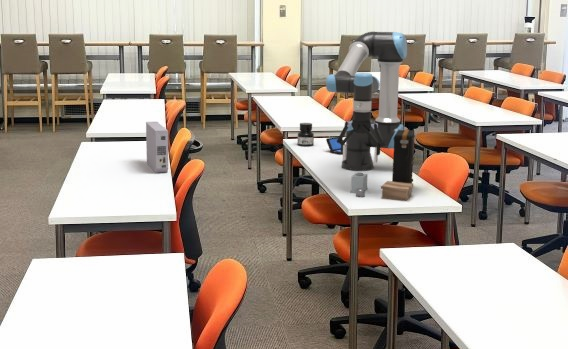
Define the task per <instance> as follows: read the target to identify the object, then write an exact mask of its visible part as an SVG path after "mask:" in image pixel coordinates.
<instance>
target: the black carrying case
mask: <svg viewBox="0 0 568 349" xmlns="http://www.w3.org/2000/svg"><path fill="white" fill-rule="evenodd" d="M415 133H416V132H415V130H414V129H407V128H405V129H404V130H398V131H397V133H396V135H395V136H394V149H393V158H392V160H393V161H392V178H391V180H392V181H393V182H403V183H413V182H414V178H413V169H414V167H413V166H414V160H415V157H414V152H415V138H416V135H415Z"/></svg>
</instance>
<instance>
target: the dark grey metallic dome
mask: <svg viewBox="0 0 568 349" xmlns="http://www.w3.org/2000/svg"><path fill="white" fill-rule="evenodd" d="M355 196H356V198H365V197H366V191H365V189H362V188H358V189H356V193H355Z"/></svg>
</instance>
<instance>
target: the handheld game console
mask: <svg viewBox="0 0 568 349" xmlns="http://www.w3.org/2000/svg"><path fill="white" fill-rule="evenodd" d="M338 138H339V136H335V137H329V138H326V140H325V141H326V143H327V146H328V148H329V152H330V154H335V155H339V156H341V155H342V156H343V152H341V144H340V143H337V139H338ZM343 140H344V138H342V141H343Z"/></svg>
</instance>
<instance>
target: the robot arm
mask: <svg viewBox="0 0 568 349" xmlns="http://www.w3.org/2000/svg"><path fill="white" fill-rule="evenodd" d="M407 55H408V44H407V39H406V36H405V35H404V33H402V32H397V31H396V32H395V31H368V32H365V33H362V34H361V35H359V36H357V37H356V38H355V39H354V40H352V42H351V43H350V45H349V47H348V52H347V54H346V56H345V58H344V59H343V61H342V62H341V64H340V66H339V68H338V70H337V71H336V73H335V74H328V75H327V77H326V78H325V80H326V81H325V88H326V90H327V92H329V93H336V94H337V93H339V94H353V100H352V110H353V111H352V120H350V121H349V120H346V121H345V122H344V127H343V129H342V131H341V132H340V134H339V136H338V137H339V138H338V139H337V143H340V144H341V152H343V155H342V160H341V168H342V169H344V170H349V171H369V170H373V169H374V164H377V163H378V160H379V158H378V156H380V155H381V149H387V150H390V149H391V150H394V136H395V135H396V133H397V131H398V130H405V129H404V124H401V120H400V118H399V117H398V103H399V102H398V101H399V82H400V81H399V80H400V79H399V78H400V66H401V64H403V62H404V59H406V58H407ZM367 58H377V63H378V64H379V65H380V69H379V71H380V73H379V79H378V78H377V77H376V76H374V75H372V73H368V72H366V73H364V72H358V70H359V68H360V67H361V65H362V63H363V62H364V61H365V60H366V59H367ZM378 90H379V97H378V99H379V102H378V116H377V117H376V118H375V119H374V120H375V121H374V122H373V121H372V112H371V111H372V97H373V96H372V95H373V94H375V93H377V92H378ZM345 135H346V136H345ZM344 136H345V137H344ZM342 139H343V141H342ZM371 148H374V154H373V155H374V156H373V157H372V154H371Z"/></svg>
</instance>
